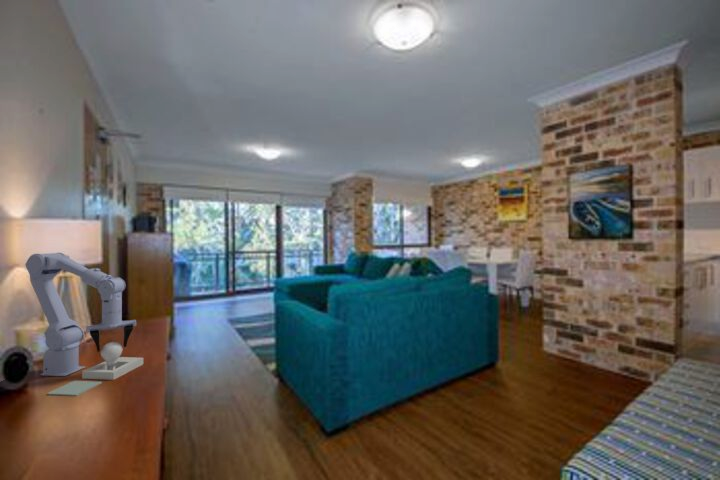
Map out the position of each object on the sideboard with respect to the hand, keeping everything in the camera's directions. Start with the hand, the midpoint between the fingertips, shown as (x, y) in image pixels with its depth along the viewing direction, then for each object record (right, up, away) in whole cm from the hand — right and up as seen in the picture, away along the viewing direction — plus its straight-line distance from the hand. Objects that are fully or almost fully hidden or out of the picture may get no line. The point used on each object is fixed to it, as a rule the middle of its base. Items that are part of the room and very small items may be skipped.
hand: (111, 348), depth 118 cm
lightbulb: (0, -9, 0) cm, 9 cm away
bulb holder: (0, -9, +1) cm, 9 cm away
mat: (-2, -9, -13) cm, 16 cm away
